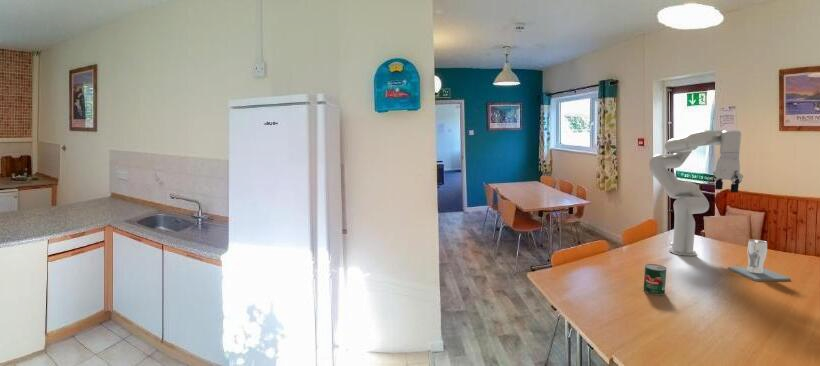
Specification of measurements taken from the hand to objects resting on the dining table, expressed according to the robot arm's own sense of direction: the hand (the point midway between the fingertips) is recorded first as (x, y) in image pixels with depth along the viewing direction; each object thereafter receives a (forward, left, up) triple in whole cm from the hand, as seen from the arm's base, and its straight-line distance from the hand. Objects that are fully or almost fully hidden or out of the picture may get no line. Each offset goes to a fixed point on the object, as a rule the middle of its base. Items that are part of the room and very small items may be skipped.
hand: (726, 190), depth 199 cm
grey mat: (+13, +8, -38) cm, 41 cm away
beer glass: (+12, +7, -38) cm, 40 cm away
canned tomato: (+31, -52, -38) cm, 72 cm away
